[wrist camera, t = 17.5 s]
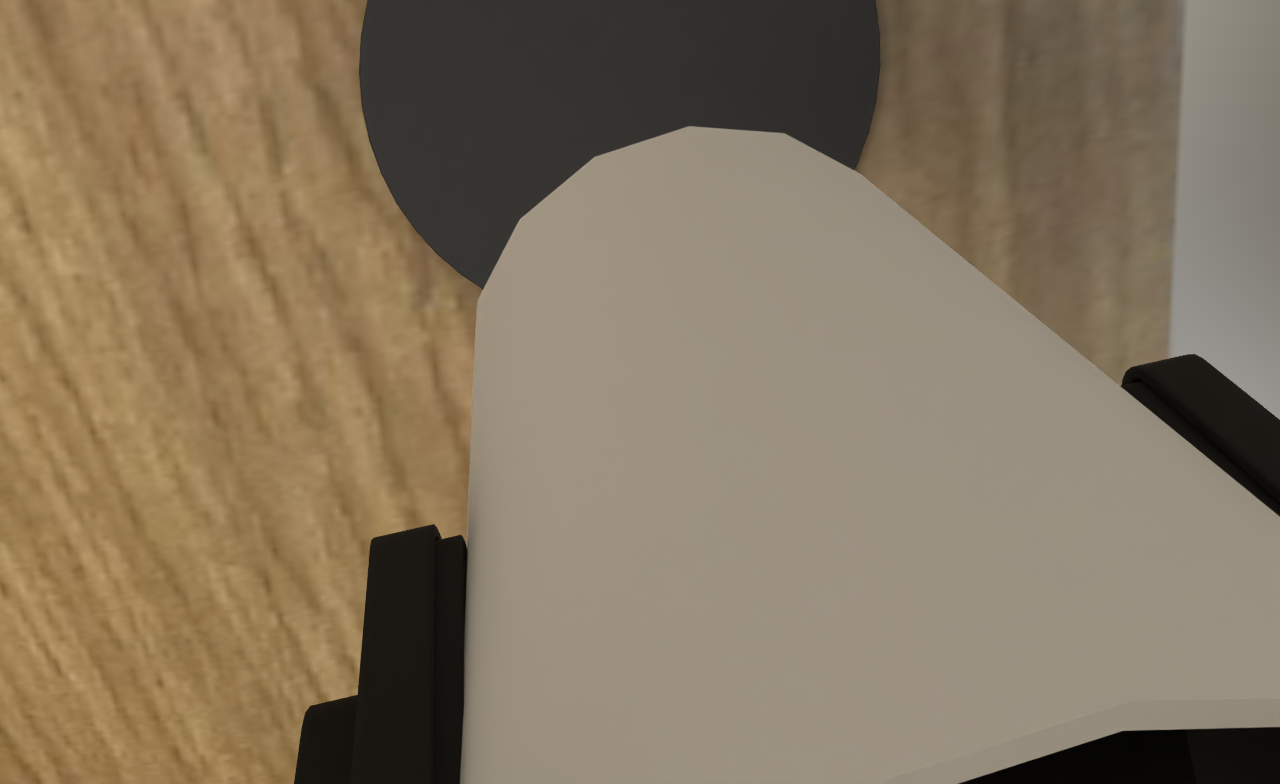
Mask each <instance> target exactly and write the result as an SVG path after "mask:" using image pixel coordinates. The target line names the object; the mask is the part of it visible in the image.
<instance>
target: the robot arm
mask: <svg viewBox="0 0 1280 784" xmlns="http://www.w3.org/2000/svg"><path fill="white" fill-rule="evenodd" d="M1120 387H1122V388H1123V389H1124V390H1125V391H1127V392H1128V393H1129V394H1130V395H1131V396H1133V397H1134V398H1135V399H1136V400H1138V401H1139V402H1140V403H1141V404H1142V405H1144V406H1145V407H1146V408H1147V409H1149V410H1150V411H1151V412H1152V413H1153V414H1155V415H1156V416H1157V417H1158V418H1160V419H1161V420H1162V421H1163V422H1164V423H1166V424H1167V425H1168V426H1169V427H1171V428H1172V429H1173V430H1174V431H1175V432H1177V433H1178V434H1179V435H1180V436H1182V437H1183V438H1184V439H1185V440H1187V441H1188V442H1189V443H1190V444H1191V445H1193V446H1194V447H1195V448H1196V449H1198V450H1199V451H1200V452H1201V453H1202V454H1204V455H1205V456H1206V457H1207V458H1209V459H1210V460H1211V461H1212V462H1213V463H1215V464H1216V465H1217V466H1218V467H1220V468H1221V469H1222V470H1223V471H1224V472H1226V473H1227V474H1228V475H1229V476H1231V477H1232V478H1233V479H1234V480H1235V481H1237V482H1238V483H1239V484H1240V485H1242V486H1243V487H1244V488H1245V489H1246V490H1248V491H1249V492H1250V493H1251V494H1253V495H1254V496H1255V497H1256V498H1257V499H1259V500H1260V501H1261V502H1262V503H1264V504H1265V505H1266V506H1267V507H1269V508H1270V509H1271V510H1272V511H1273V512H1275V513H1276V514H1277V515H1278V516H1280V420H1279V419H1278V418H1277V417H1275V416H1274V415H1273V414H1272V413H1270V412H1269V411H1268V410H1267V409H1265V408H1264V407H1263V406H1262V405H1260V404H1259V403H1258V402H1257V401H1255V400H1254V399H1253V398H1252V397H1250V396H1249V395H1248V394H1247V393H1246V392H1244V391H1243V390H1242V389H1241V388H1239V387H1238V386H1237V385H1236V384H1234V383H1233V382H1232V381H1230V380H1229V379H1228V378H1227V377H1225V376H1224V375H1223V374H1222V373H1221V372H1219V371H1218V370H1217V369H1215V368H1214V367H1213V366H1212V365H1211V364H1209V363H1208V362H1207V361H1206V360H1204V359H1203V358H1201V357H1199V356H1197V355H1195V354H1192V355H1191V354H1190V355H1183V356H1179V357H1174V358H1170V359H1166V360H1161V361H1157V362H1152V363H1148V364H1143V365H1139V366H1134V367H1131V368H1130V369H1129V370H1127V371H1126V373H1125V375H1124V377H1123V380H1122V386H1120ZM467 551H468V550H467V547H466V544H465V541H464V539H463V537H462V536H461V535H458V536H454V537H449V538H445V539H441V536H440V533H439V531H438V529H437V527H436V526H435V525H434V524H433V525H428V526H424V527H419V528H415V529H410V530H406V531H402V532H397V533H393V534H388V535H384V536H379V537H375V538H373V539H372V540H371V545H370V555H369V567H368V579H367V591H366V603H365V615H364V627H363V639H362V650H361V662H360V674H359V686H358V695H355V696H351V697H347V698H342V699H338V700H334V701H329V702H325V703H321V704H317V705H312V706H310V707H309V709H308V710H307V711H306V713H305V716H304V721H303V725H302V730H301V737H300V745H299V752H298V759H297V766H296V774H295V781H294V784H460V771H461V753H462V734H463V715H464V634H465V607H466V579H467Z"/></svg>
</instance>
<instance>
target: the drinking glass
mask: <svg viewBox="0 0 1280 784" xmlns="http://www.w3.org/2000/svg"><path fill="white" fill-rule="evenodd" d="M466 547H467V550H468V551H467V579H466V607H465V634H464V715H463V734H462V753H461V771H460V784H1280V516H1278V515H1277V514H1276V513H1275V512H1273V511H1272V510H1271V509H1270V508H1269V507H1267V506H1266V505H1265V504H1264V503H1262V502H1261V501H1260V500H1259V499H1257V498H1256V497H1255V496H1254V495H1253V494H1251V493H1250V492H1249V491H1248V490H1246V489H1245V488H1244V487H1243V486H1242V485H1240V484H1239V483H1238V482H1237V481H1235V480H1234V479H1233V478H1232V477H1231V476H1229V475H1228V474H1227V473H1226V472H1224V471H1223V470H1222V469H1221V468H1220V467H1218V466H1217V465H1216V464H1215V463H1213V462H1212V461H1211V460H1210V459H1209V458H1207V457H1206V456H1205V455H1204V454H1202V453H1201V452H1200V451H1199V450H1198V449H1196V448H1195V447H1194V446H1193V445H1191V444H1190V443H1189V442H1188V441H1187V440H1185V439H1184V438H1183V437H1182V436H1180V435H1179V434H1178V433H1177V432H1175V431H1174V430H1173V429H1172V428H1171V427H1169V426H1168V425H1167V424H1166V423H1164V422H1163V421H1162V420H1161V419H1160V418H1158V417H1157V416H1156V415H1155V414H1153V413H1152V412H1151V411H1150V410H1149V409H1147V408H1146V407H1145V406H1144V405H1142V404H1141V403H1140V402H1139V401H1138V400H1136V399H1135V398H1134V397H1133V396H1131V395H1130V394H1129V393H1128V392H1127V391H1125V390H1124V389H1123V388H1122V387H1120V386H1119V385H1118V384H1117V383H1116V382H1114V381H1113V380H1112V379H1111V378H1109V377H1108V376H1107V375H1106V374H1104V373H1103V372H1102V371H1101V370H1100V369H1098V368H1097V367H1096V366H1095V365H1093V364H1092V363H1091V362H1090V361H1089V360H1087V359H1086V358H1085V357H1084V356H1082V355H1081V354H1080V353H1079V352H1078V351H1076V350H1075V349H1074V348H1073V347H1071V346H1070V345H1069V344H1068V343H1067V342H1065V341H1064V340H1063V339H1062V338H1060V337H1059V336H1058V335H1057V334H1056V333H1054V332H1053V331H1052V330H1051V329H1049V328H1048V327H1047V326H1046V325H1045V324H1043V323H1042V322H1041V321H1040V320H1038V319H1037V318H1036V317H1035V316H1034V315H1032V314H1031V313H1030V312H1029V311H1027V310H1026V309H1025V308H1024V307H1022V306H1021V305H1020V304H1019V303H1018V302H1016V301H1015V300H1014V299H1013V298H1011V297H1010V296H1009V295H1008V294H1007V293H1005V292H1004V291H1003V290H1002V289H1000V288H999V287H998V286H997V285H996V284H994V283H993V282H992V281H991V280H989V279H988V278H987V277H986V276H985V275H983V274H982V273H981V272H980V271H978V270H977V269H976V268H975V267H974V266H972V265H971V264H970V263H969V262H967V261H966V260H965V259H964V258H963V257H961V256H960V255H959V254H958V253H956V252H955V251H954V250H953V249H951V248H950V247H949V246H948V245H947V244H945V243H944V242H943V241H942V240H940V239H939V238H938V237H937V236H936V235H934V234H933V233H932V232H931V231H929V230H928V229H927V228H926V227H925V226H923V225H922V224H921V223H920V222H918V221H917V220H916V219H915V218H914V217H912V216H911V215H910V214H909V213H907V212H906V211H905V210H904V209H903V208H901V207H900V206H899V205H898V204H896V203H895V202H894V201H893V200H892V199H890V198H889V197H888V196H887V195H885V194H884V193H883V192H882V191H880V190H879V189H878V188H877V187H876V186H874V185H873V184H872V183H871V182H869V181H868V180H867V179H866V178H865V177H864V176H863V175H861V174H860V173H858V172H856V171H854V170H852V169H850V168H848V167H846V166H845V165H843V164H841V163H839V162H837V161H835V160H833V159H832V158H830V157H828V156H826V155H824V154H822V153H820V152H818V151H817V150H815V149H813V148H811V147H809V146H807V145H805V144H804V143H802V142H800V141H798V140H796V139H794V138H792V137H790V136H789V135H787V134H785V133H774V132H760V131H747V130H733V129H720V128H706V127H693V126H688V127H685V128H682V129H679V130H676V131H673V132H670V133H667V134H664V135H661V136H657V137H654V138H651V139H648V140H645V141H642V142H639V143H636V144H633V145H630V146H627V147H624V148H621V149H618V150H614V151H611V152H608V153H605V154H602V155H599V156H596V157H594V158H593V159H592V160H590V161H589V162H588V163H587V164H586V165H584V166H583V167H582V168H581V169H580V170H578V171H577V172H576V173H575V174H574V175H572V176H571V177H570V178H569V179H568V180H566V181H565V182H564V183H563V184H562V185H560V186H559V187H558V188H557V189H556V190H554V191H553V192H552V193H551V194H550V195H548V196H547V197H546V198H545V199H544V200H542V201H541V202H540V203H539V204H538V205H536V206H535V207H534V208H533V209H532V210H530V211H529V212H528V213H527V214H526V215H524V216H523V217H522V218H521V219H520V220H519V222H518V224H517V225H516V227H515V229H514V231H513V233H512V235H511V237H510V239H509V241H508V243H507V245H506V247H505V248H504V250H503V252H502V254H501V256H500V258H499V260H498V262H497V264H496V266H495V268H494V270H493V271H492V273H491V275H490V277H489V279H488V281H487V283H486V285H485V287H484V289H483V291H482V293H481V295H480V296H479V298H478V300H477V315H476V332H475V350H474V368H473V400H472V423H471V447H470V470H469V494H468V517H467V540H466Z"/></svg>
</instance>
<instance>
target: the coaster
mask: <svg viewBox="0 0 1280 784" xmlns="http://www.w3.org/2000/svg"><path fill="white" fill-rule="evenodd" d="M879 73H880V31H879V24H878V16H877V9H876V2H875V0H368V1H367V6H366V12H365V17H364V22H363V28H362V33H361V45H360V65H359V76H360V88H361V100H362V109H363V114H364V118H365V123H366V127H367V132H368V137H369V141H370V144H371V147H372V150H373V152H374V155H375V158H376V161H377V163H378V166H379V169H380V172H381V174H382V176H383V178H384V180H385V182H386V184H387V186H388V188H389V190H390V191H391V193H392V195H393V197H394V199H395V201H396V203H397V205H398V206H399V207H400V209H401V210H402V212H403V213H404V215H405V216H406V217H407V219H408V220H409V222H410V223H411V225H412V226H413V228H414V229H415V230H416V231H417V233H418V234H419V235H420V236H421V237H422V238H423V239H424V240H425V241H426V242H427V244H428V245H429V246H430V247H431V248H432V249H433V250H434V251H435V252H436V253H437V255H439V256H440V257H441V258H442V259H443V260H445V261H446V262H447V263H448V264H449V265H450V266H452V267H453V268H454V269H455V270H456V271H457V272H459V273H460V274H461V275H462V276H464V277H465V278H467V279H468V280H470V281H471V282H473V283H475V284H476V285H478V286H479V287H481V288H482V289H484V287H485V285H486V283H487V281H488V279H489V277H490V275H491V273H492V271H493V270H494V268H495V266H496V264H497V262H498V260H499V258H500V256H501V254H502V252H503V250H504V248H505V247H506V245H507V243H508V241H509V239H510V237H511V235H512V233H513V231H514V229H515V227H516V225H517V224H518V222H519V220H520V219H521V218H522V217H523V216H524V215H526V214H527V213H528V212H529V211H530V210H532V209H533V208H534V207H535V206H536V205H538V204H539V203H540V202H541V201H542V200H544V199H545V198H546V197H547V196H548V195H550V194H551V193H552V192H553V191H554V190H556V189H557V188H558V187H559V186H560V185H562V184H563V183H564V182H565V181H566V180H568V179H569V178H570V177H571V176H572V175H574V174H575V173H576V172H577V171H578V170H580V169H581V168H582V167H583V166H584V165H586V164H587V163H588V162H589V161H590V160H592V159H593V158H594V157H596V156H599V155H602V154H605V153H608V152H611V151H614V150H618V149H621V148H624V147H627V146H630V145H633V144H636V143H639V142H642V141H645V140H648V139H651V138H654V137H657V136H661V135H664V134H667V133H670V132H673V131H676V130H679V129H682V128H685V127H688V126H693V127H706V128H720V129H733V130H747V131H760V132H774V133H785V134H787V135H789V136H790V137H792V138H794V139H796V140H798V141H800V142H802V143H804V144H805V145H807V146H809V147H811V148H813V149H815V150H817V151H818V152H820V153H822V154H824V155H826V156H828V157H830V158H832V159H833V160H835V161H837V162H839V163H841V164H843V165H845V166H846V167H848V168H850V169H852V170H854V168H855V166H856V164H857V162H858V159H859V157H860V154H861V151H862V149H863V146H864V143H865V141H866V138H867V135H868V133H869V129H870V124H871V120H872V116H873V112H874V108H875V104H876V99H877V90H878V82H879Z"/></svg>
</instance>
